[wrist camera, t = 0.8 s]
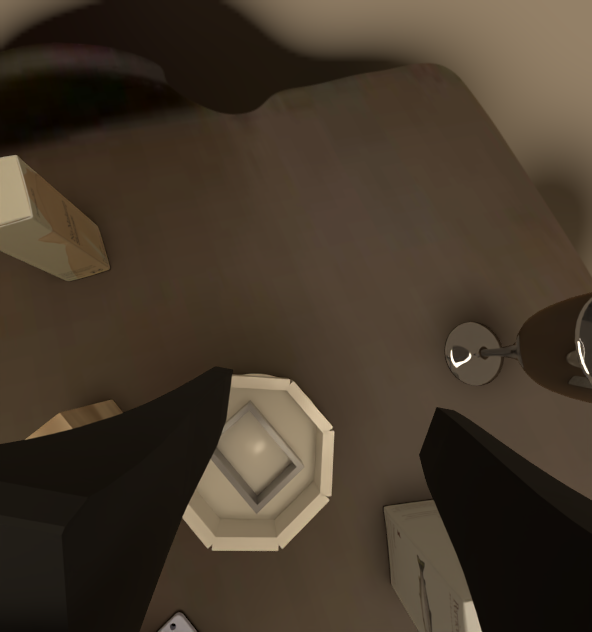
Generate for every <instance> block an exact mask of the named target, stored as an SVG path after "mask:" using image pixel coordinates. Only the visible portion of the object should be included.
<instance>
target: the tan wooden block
mask: <svg viewBox="0 0 592 632" xmlns="http://www.w3.org/2000/svg"><path fill="white" fill-rule="evenodd" d="M121 413H123V412H122V411H121V409H120V408H119V407H118V406H117V405H116V403H115V402H114V401H113V400H112V399H111V400H108V401H104V402H100V403H96V404H92V405H88V406H84V407H80V408H76V409H72V410H68V411H64V412H61V413H59V414H57V415H56V416H55V417H54V418H52V419H51V420H50V421H48V422H47V423H46V424H45V425H43V426H42V427H41V428H39V429H38V430H37V431H36V432H34V433H33V434H32V435H30V436H29V437H28V438H27V439H31V438H36V437H40V436H45V435H49V434H54V433H58V432H62V431H65V430H69V429H73V428H77V427H81V426H84V425H87V424H90V423H93V422H97V421H100V420H103V419H106V418H110V417H113V416H116V415H118V414H121ZM25 440H26V439H25Z"/></svg>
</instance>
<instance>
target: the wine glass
mask: <svg viewBox="0 0 592 632" xmlns="http://www.w3.org/2000/svg"><path fill="white" fill-rule="evenodd" d="M504 357H508V358H513V359H516V360H518V361H519V363H520V365H521V367H522V368H523V370H524V371H525V372H526V374H527V375H528V376H529V377H530V378H531V379H532V380H533V381H535V382H536V383H537V384H539V385H540V386H542V387H544V388H546V389H548V390H550V391H552V392H555V393H558V394H561V395H564V396H566V397H569V398H573V399H576V400H580V401H584V402H588V403H592V292H591V293H587V294H583V295H579V296H575V297H571V298H569V299H566V300H563V301H561V302H558V303H555V304H553V305H550V306H548V307H546V308H544V309H542V310H540V311H538V312H537V313H535V314H534V315H532V316H531V317H530V318H528V319H527V320H526V322H525V323H524V324H523V326H522V327H521V329H520V330H519V333H518V335H517V339H516V342H515V343H514V344H513V345H510V346H506V347H502V344H501V342H500V340H499V338H498V337H497V335H496V334H495V333H494V332H493V331H492V330H491V329H490V328H489V327H487V326H485V325H483V324H481V323H477V322H466V323H462V324H460V325H458V326H457V327H455V328H454V329H453V330H452V331H451V333H450V334H449V336H448V338H447V340H446V344H445V358H446V362H447V364H448V367H449V368H450V370H451V372H452V373H453V374H454V375H455V376H456V377H457V378H458V379H459V380H460V381H462V382H464V383H466V384H469V385H474V386H481V385H485V384H487V383H490V382H491V381H493V380H494V379H495V378H496V377H497V376H498V374H499V373H500V371H501V369H502V366H503V362H504Z"/></svg>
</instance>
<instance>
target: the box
mask: <svg viewBox="0 0 592 632" xmlns="http://www.w3.org/2000/svg"><path fill="white" fill-rule="evenodd" d="M0 251H2V252H4V253H6V254H8V255H10V256H13V257H15V258H17V259H19V260H22V261H24V262H26V263H28V264H30V265H33V266H35V267H37V268H39V269H41V270H44V271H46V272H48V273H50V274H52V275H55V276H57V277H59V278H61V279H63V280H66V281H72V280H76V279H80V278H84V277H87V276H91V275H94V274H97V273H101V272H104V271H107V270H109V269H110V265H109V261H108V258H107V254H106V251H105V248H104V244H103V241H102V237H101V234H100V231H99V228H98V226H97V225H96V224H95V223H94V222H92V221H91V220H90V219H89V218H88V217H87V216H85V215H84V214H83V213H82V212H81V211H80V210H79V209H78V208H76V207H75V206H74V205H73V204H72V203H71V202H69V201H68V200H67V199H66V198H65V197H64V196H63V195H61V194H60V193H59V192H58V191H57V190H56V189H54V188H53V187H52V186H51V185H50V184H49V183H48V182H46V181H45V180H44V179H43V178H42V177H41V176H40V175H38V174H37V173H36V172H35V171H34V170H33V169H31V168H30V167H29V166H28V165H27V164H26V163H25V162H24V161H22V160H21V159H20V158H19V157H18V156H17V155H13V156H7V157H2V158H0Z"/></svg>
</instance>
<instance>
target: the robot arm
mask: <svg viewBox="0 0 592 632" xmlns="http://www.w3.org/2000/svg"><path fill="white" fill-rule="evenodd" d="M232 372H233V370H232V369H227V368H221V367H214V368H212V369H210V370H208V371H207V372H205V373H203V374H202V375H200V376H198V377H196V378H195V379H193V380H191V381H189V382H188V383H186V384H184V385H182V386H181V387H179V388H177V389H175V390H173V391H171V392H169V393H167V394H165V395H163V396H161V397H159V398H157V399H155V400H153V401H151V402H149V403H146V404H144V405H142V406H139V407H137V408H134V409H132V410H129V411H126V412H124V413H121V414H118V415H116V416H113V417H110V418H106V419H103V420H100V421H97V422H93V423H90V424H87V425H84V426H81V427H77V428H73V429H69V430H65V431H62V432H58V433H54V434H49V435H45V436H40V437H36V438H31V439H26V440H21V441H16V442H10V443H5V444H0V632H139V631H140V628H141V625H142V623H143V620H144V617H145V614H146V611H147V609H148V606H149V603H150V600H151V598H152V595H153V592H154V590H155V587H156V584H157V582H158V579H159V576H160V574H161V571H162V568H163V566H164V563H165V560H166V558H167V555H168V552H169V550H170V547H171V545H172V542H173V539H174V537H175V534H176V532H177V529H178V527H179V524H180V521H181V519H182V517H183V515H184V512H185V510H186V508H187V506H188V504H189V502H190V500H191V498H192V496H193V494H194V492H195V490H196V488H197V486H198V484H199V482H200V480H201V478H202V476H203V473H204V471H205V469H206V467H207V465H208V463H209V461H210V459H211V457H212V455H213V453H214V451H215V449H216V447H217V445H218V442H219V439H220V436H221V434H222V431H223V428H224V425H225V422H226V419H227V411H228V403H229V395H230V388H231V380H232ZM419 456H420V460H421V464H422V468H423V472H424V475H425V479H426V482H427V485H428V488H429V490H430V493H431V495H432V497H433V500H434V502H435V505H436V507H437V510H438V512H439V514H440V517H441V519H442V521H443V524H444V526H445V528H446V531H447V533H448V536H449V538H450V540H451V543H452V545H453V547H454V550H455V552H456V554H457V557H458V560H459V562H460V565H461V568H462V570H463V573H464V576H465V579H466V582H467V585H468V588H469V592H470V595H471V598H472V601H473V604H474V607H475V610H476V613H477V617H478V620H479V624H480V627H481V631H482V632H592V500H590V499H588V498H587V497H585V496H583V495H582V494H580V493H578V492H576V491H575V490H573V489H571V488H570V487H568V486H566V485H565V484H563V483H561V482H560V481H558V480H557V479H555V478H553V477H552V476H550V475H549V474H547V473H546V472H544V471H543V470H541V469H540V468H538V467H537V466H535V465H534V464H532V463H531V462H529V461H528V460H526V459H525V458H523V457H522V456H520V455H519V454H517V453H516V452H515V451H513V450H512V449H510V448H509V447H507V446H506V445H505V444H503V443H502V442H500V441H499V440H498V439H496V438H495V437H493V436H492V435H491V434H489V433H488V432H486V431H485V430H484V429H482V428H481V427H479V426H478V425H476V424H475V423H473V422H472V421H471V420H469V419H468V418H466V417H464V416H463V415H461V414H459V413H458V412H456V411H454V410H449V409H443V408H438V407H437V408H436V411H435V413H434V416H433V419H432V421H431V424H430V427H429V430H428V432H427V435H426V438H425V441H424V443H423V446H422V449H421V452H420V454H419ZM172 623H174V624H176V626H172V625H171V624H172ZM158 632H197V631H196V629H195V628H194V627H193V626H192V624H191V623H190V622H189V621H188V619H187V618H186V617H185V616H184V615H183V614H182V613H180V612H179V613H176V614H175V615H174V616H173V617H172V618H171V619H170V620H169V621H168V622H167V623H166V624H165V625H164V626H163V627H162V628H161V629H160V630H159V631H158Z"/></svg>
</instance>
